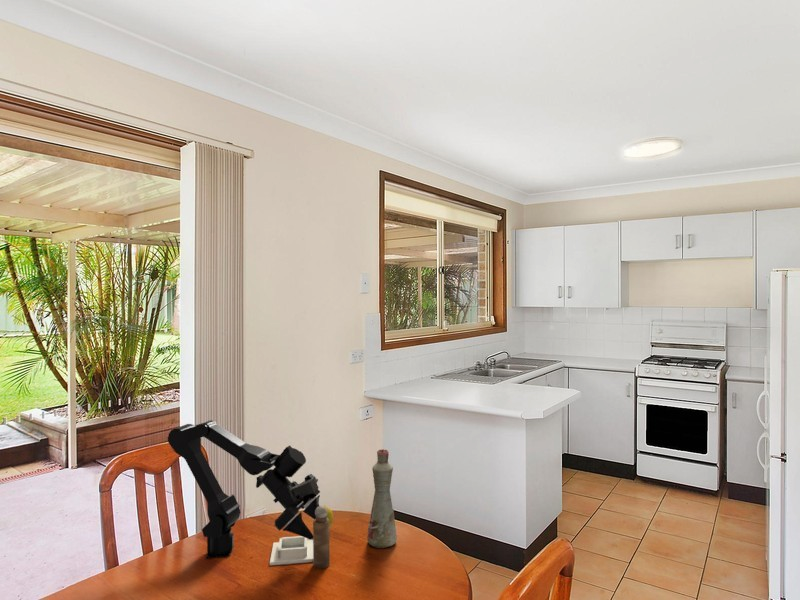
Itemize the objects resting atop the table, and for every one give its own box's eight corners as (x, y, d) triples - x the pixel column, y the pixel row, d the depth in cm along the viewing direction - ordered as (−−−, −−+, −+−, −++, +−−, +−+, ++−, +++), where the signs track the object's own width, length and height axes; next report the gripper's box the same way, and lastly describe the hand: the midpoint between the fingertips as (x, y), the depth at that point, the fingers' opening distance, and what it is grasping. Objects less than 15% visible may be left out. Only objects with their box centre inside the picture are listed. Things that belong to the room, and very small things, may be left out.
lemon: (331, 535, 161) (331, 509, 161) (313, 535, 161) (313, 509, 161) (334, 527, 166) (334, 502, 166) (317, 527, 166) (316, 502, 166)
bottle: (387, 552, 149) (386, 455, 149) (361, 545, 154) (360, 450, 154) (402, 540, 157) (402, 447, 157) (377, 534, 161) (377, 443, 162)
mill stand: (269, 565, 142) (269, 554, 142) (273, 545, 154) (273, 535, 154) (314, 561, 144) (314, 550, 144) (314, 542, 156) (314, 532, 156)
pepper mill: (313, 569, 140) (312, 509, 140) (313, 561, 144) (313, 503, 145) (329, 568, 141) (329, 508, 141) (329, 560, 145) (329, 502, 145)
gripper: (284, 479, 135) (325, 525, 133) (313, 458, 153) (349, 499, 151) (257, 507, 137) (297, 554, 134) (289, 483, 155) (324, 524, 152)
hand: (318, 530), depth 143 cm, fingers open, 9 cm apart
